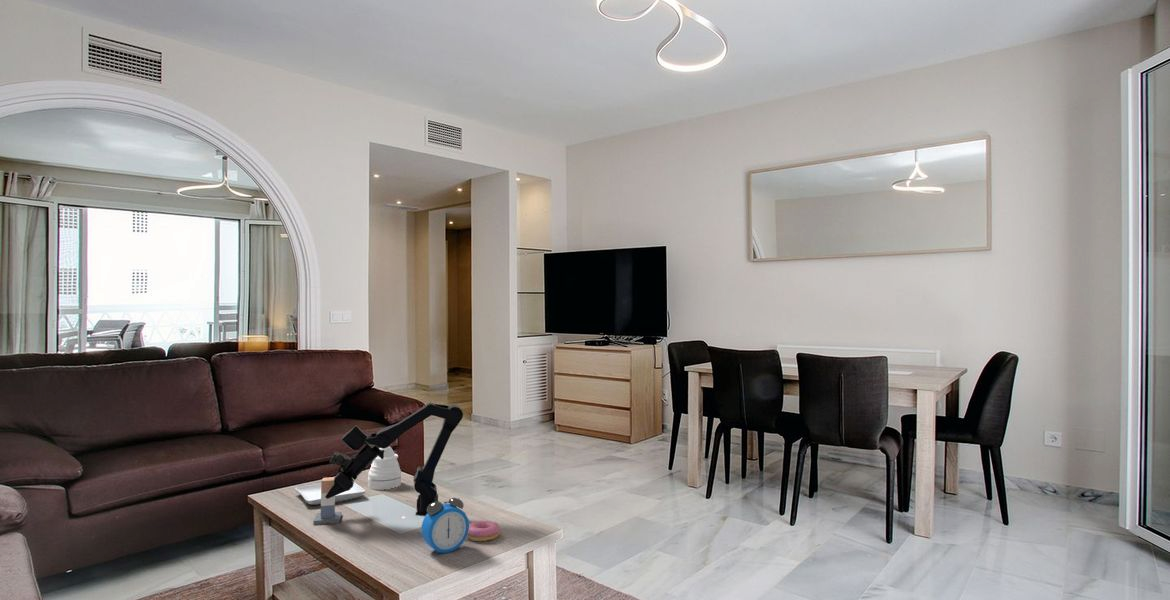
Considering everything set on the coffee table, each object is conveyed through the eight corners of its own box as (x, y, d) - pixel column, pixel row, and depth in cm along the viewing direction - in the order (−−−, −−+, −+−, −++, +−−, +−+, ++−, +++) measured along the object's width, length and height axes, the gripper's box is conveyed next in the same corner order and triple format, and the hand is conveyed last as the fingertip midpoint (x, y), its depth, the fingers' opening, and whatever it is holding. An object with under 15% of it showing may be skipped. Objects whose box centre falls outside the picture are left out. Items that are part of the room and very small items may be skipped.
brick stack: (334, 513, 214) (335, 477, 215) (333, 517, 211) (334, 480, 211) (322, 514, 213) (323, 477, 214) (320, 518, 210) (321, 480, 210)
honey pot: (393, 479, 263) (394, 436, 263) (406, 486, 253) (407, 441, 253) (363, 484, 254) (363, 440, 255) (375, 491, 245) (376, 445, 245)
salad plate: (293, 495, 240) (293, 486, 240) (350, 486, 252) (350, 478, 252) (306, 510, 223) (307, 500, 223) (367, 499, 235) (367, 490, 235)
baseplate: (341, 515, 217) (341, 511, 217) (339, 522, 209) (339, 519, 209) (316, 516, 215) (316, 513, 215) (313, 524, 207) (313, 521, 207)
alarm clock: (428, 558, 181) (429, 506, 181) (419, 551, 186) (420, 501, 186) (469, 548, 189) (470, 498, 189) (460, 542, 194) (461, 493, 194)
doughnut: (489, 545, 192) (490, 531, 192) (458, 540, 195) (458, 527, 195) (505, 533, 202) (506, 520, 202) (475, 529, 206) (475, 516, 206)
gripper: (348, 438, 223) (314, 471, 220) (342, 449, 205) (305, 485, 202) (371, 458, 225) (338, 491, 222) (367, 472, 207) (331, 508, 204)
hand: (328, 493), depth 212 cm, fingers open, 9 cm apart
